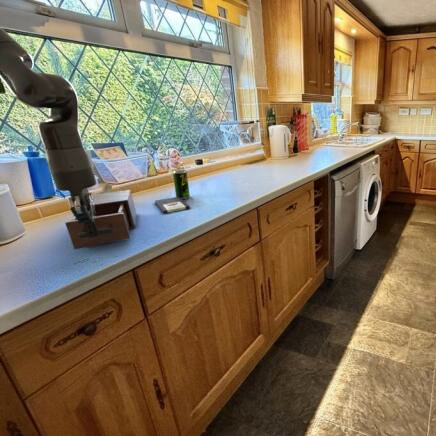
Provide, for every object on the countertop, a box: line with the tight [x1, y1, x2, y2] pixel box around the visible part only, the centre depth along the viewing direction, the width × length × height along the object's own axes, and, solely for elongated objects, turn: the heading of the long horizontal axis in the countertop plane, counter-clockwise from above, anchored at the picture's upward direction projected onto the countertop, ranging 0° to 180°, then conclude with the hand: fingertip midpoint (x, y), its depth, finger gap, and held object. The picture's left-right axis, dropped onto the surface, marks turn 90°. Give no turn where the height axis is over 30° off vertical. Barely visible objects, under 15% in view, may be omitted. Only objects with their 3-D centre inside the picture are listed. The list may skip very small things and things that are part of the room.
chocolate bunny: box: [99, 182, 113, 194], centre depth 120 cm, size 6×8×10 cm
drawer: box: [64, 203, 131, 250], centre depth 87 cm, size 19×13×8 cm
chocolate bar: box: [154, 196, 190, 214], centre depth 120 cm, size 9×1×18 cm
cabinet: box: [71, 189, 138, 230], centre depth 99 cm, size 16×14×10 cm
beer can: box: [172, 168, 191, 200], centre depth 129 cm, size 5×5×12 cm
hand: (93, 236), depth 76 cm, fingers closed
